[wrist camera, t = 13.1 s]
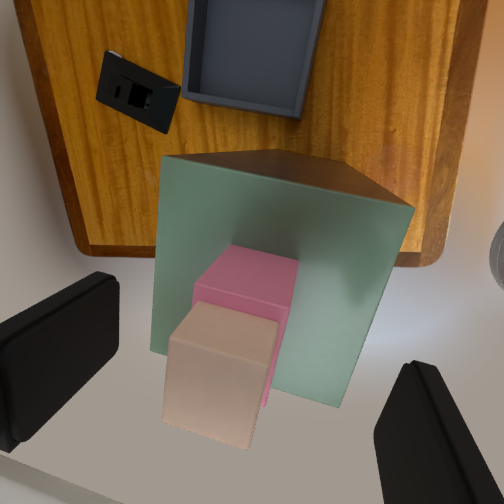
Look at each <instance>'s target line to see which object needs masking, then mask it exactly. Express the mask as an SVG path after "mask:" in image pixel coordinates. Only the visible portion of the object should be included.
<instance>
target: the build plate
mask: <svg viewBox="0 0 504 504" xmlns="http://www.w3.org/2000/svg"><path fill="white" fill-rule="evenodd" d="M180 90H181V87H180V86H178V85H176V84H174V83H172V82H170V81H168V80H166V79H164V78H162V77H160V76H158V75H156V74H154V73H152V72H150V71H148V70H145V69H143V68H141V67H139V66H137V65H135V64H133V63H131V62H129V61H127V60H125V59H123V58H122V57H121V55H119V54H117V53H115V52H113V51H105V53H104V58H103V63H102V68H101V73H100V79H99V84H98V89H97V94H96V100H97V101H99V102H101V103H103V104H105V105H107V106H109V107H112V108H114V109H116V110H118V111H120V112H122V113H124V114H126V115H128V116H130V117H132V118H134V119H136V120H138V121H140V122H142V123H144V124H146V125H148V126H150V127H152V128H154V129H156V130H158V131H160V132H162V133H164V134H167V133H168V130H169V126H170V123H171V120H172V116H173V113H174V110H175V106H176V103H177V100H178V96H179V93H180Z"/></svg>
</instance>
